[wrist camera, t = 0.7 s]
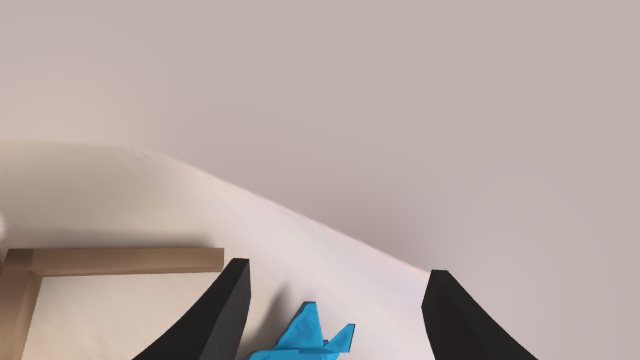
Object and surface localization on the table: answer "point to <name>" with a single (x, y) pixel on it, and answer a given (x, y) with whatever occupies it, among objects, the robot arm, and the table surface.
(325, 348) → the toy airplane
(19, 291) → the brown wooden u shape
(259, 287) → the table surface
